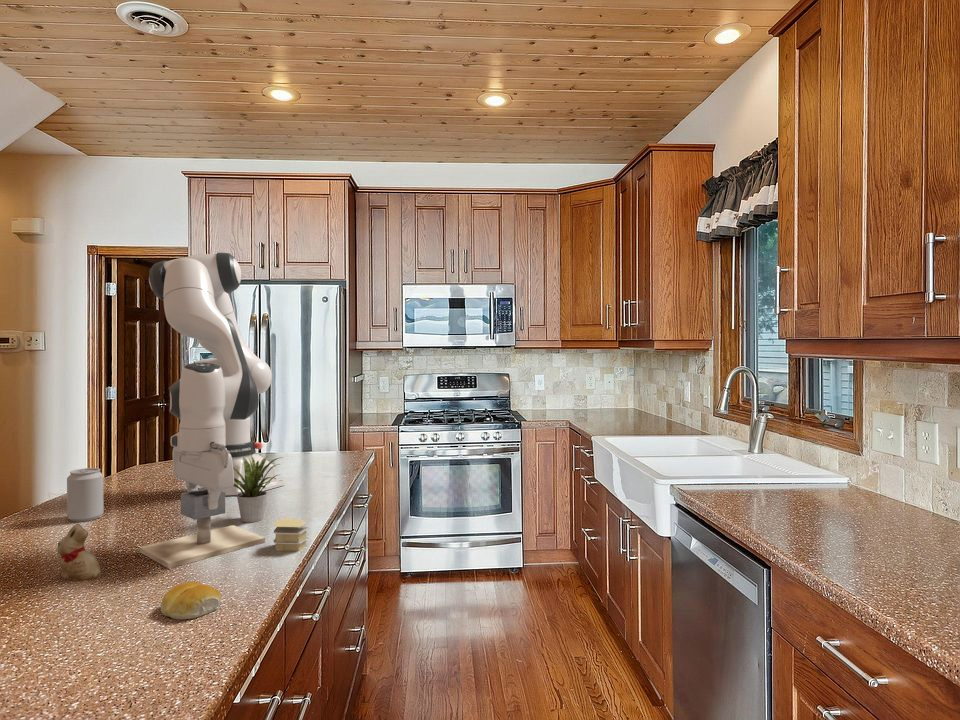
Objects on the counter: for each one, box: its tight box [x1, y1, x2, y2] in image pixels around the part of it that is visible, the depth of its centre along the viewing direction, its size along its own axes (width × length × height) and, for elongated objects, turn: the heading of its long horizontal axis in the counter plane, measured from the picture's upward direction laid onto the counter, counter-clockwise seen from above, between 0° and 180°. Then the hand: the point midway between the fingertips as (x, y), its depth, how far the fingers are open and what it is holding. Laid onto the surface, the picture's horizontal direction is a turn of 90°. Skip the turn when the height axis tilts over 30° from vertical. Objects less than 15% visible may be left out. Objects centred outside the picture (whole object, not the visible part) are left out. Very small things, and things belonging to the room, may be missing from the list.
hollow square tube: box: [180, 488, 226, 521], centre depth 125 cm, size 6×6×4 cm
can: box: [66, 467, 105, 523], centre depth 145 cm, size 8×8×12 cm
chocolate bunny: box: [57, 523, 102, 582], centre depth 109 cm, size 6×8×10 cm
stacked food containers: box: [273, 517, 309, 552], centre depth 125 cm, size 10×9×6 cm
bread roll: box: [160, 581, 222, 621], centre depth 96 cm, size 8×9×4 cm
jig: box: [139, 516, 266, 569], centre depth 125 cm, size 20×14×8 cm
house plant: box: [233, 453, 284, 523], centre depth 145 cm, size 14×14×16 cm
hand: (203, 505), depth 125 cm, fingers closed on hollow square tube, 6 cm apart
